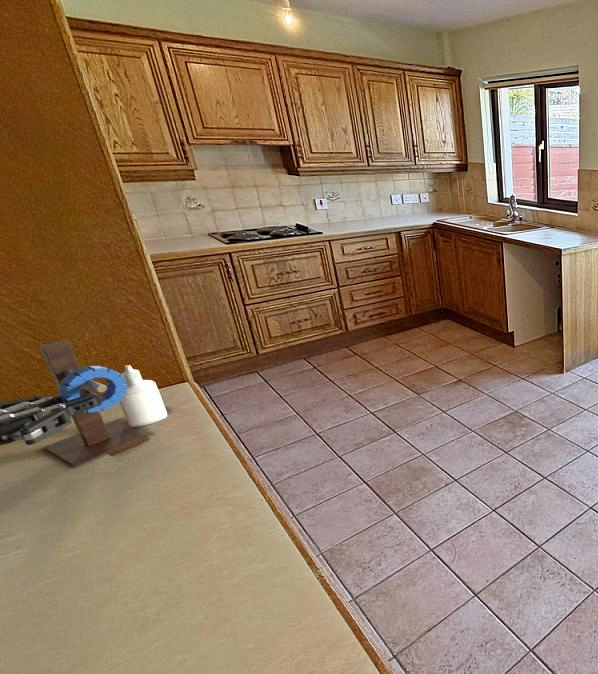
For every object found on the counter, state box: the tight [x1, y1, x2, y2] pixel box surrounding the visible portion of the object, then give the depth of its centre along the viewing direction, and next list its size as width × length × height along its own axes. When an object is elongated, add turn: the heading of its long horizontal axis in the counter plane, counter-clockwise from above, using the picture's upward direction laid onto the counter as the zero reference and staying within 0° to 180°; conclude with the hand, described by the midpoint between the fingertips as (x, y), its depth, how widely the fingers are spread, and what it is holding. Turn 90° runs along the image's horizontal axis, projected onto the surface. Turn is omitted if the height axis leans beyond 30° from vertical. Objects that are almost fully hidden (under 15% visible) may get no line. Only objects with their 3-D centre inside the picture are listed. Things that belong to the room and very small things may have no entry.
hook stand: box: [38, 339, 150, 467], centre depth 79 cm, size 16×10×20 cm, turn 66°
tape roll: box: [58, 365, 127, 413], centre depth 77 cm, size 2×7×7 cm
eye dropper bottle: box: [119, 364, 168, 428], centre depth 90 cm, size 4×6×12 cm
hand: (93, 396), depth 77 cm, fingers closed on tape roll, 2 cm apart
